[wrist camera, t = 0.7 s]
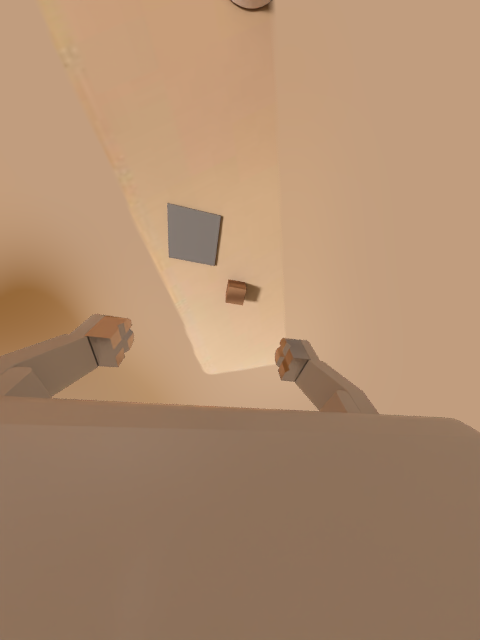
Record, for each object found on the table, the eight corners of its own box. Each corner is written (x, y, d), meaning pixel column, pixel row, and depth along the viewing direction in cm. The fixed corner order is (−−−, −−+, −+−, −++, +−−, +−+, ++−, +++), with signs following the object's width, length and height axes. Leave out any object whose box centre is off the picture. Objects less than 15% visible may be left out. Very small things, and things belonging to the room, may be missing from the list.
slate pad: (168, 203, 39) (167, 203, 38) (220, 215, 41) (220, 215, 40) (169, 256, 46) (168, 257, 45) (214, 265, 48) (214, 265, 47)
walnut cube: (228, 279, 51) (228, 286, 47) (245, 282, 51) (246, 289, 47) (225, 294, 53) (225, 302, 49) (241, 296, 54) (242, 305, 50)
